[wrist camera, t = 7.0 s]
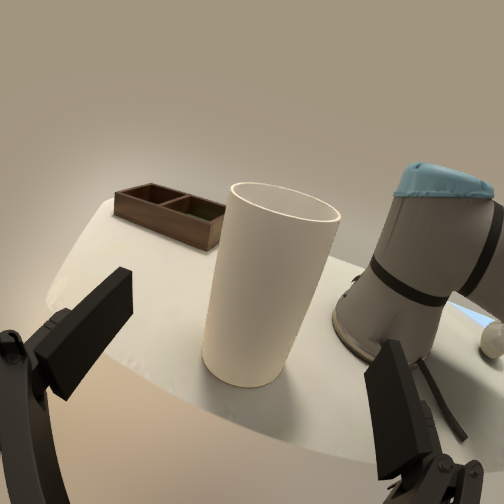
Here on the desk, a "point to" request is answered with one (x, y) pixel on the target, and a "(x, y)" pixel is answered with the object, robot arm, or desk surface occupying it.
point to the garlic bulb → (493, 339)
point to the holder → (172, 214)
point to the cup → (264, 279)
